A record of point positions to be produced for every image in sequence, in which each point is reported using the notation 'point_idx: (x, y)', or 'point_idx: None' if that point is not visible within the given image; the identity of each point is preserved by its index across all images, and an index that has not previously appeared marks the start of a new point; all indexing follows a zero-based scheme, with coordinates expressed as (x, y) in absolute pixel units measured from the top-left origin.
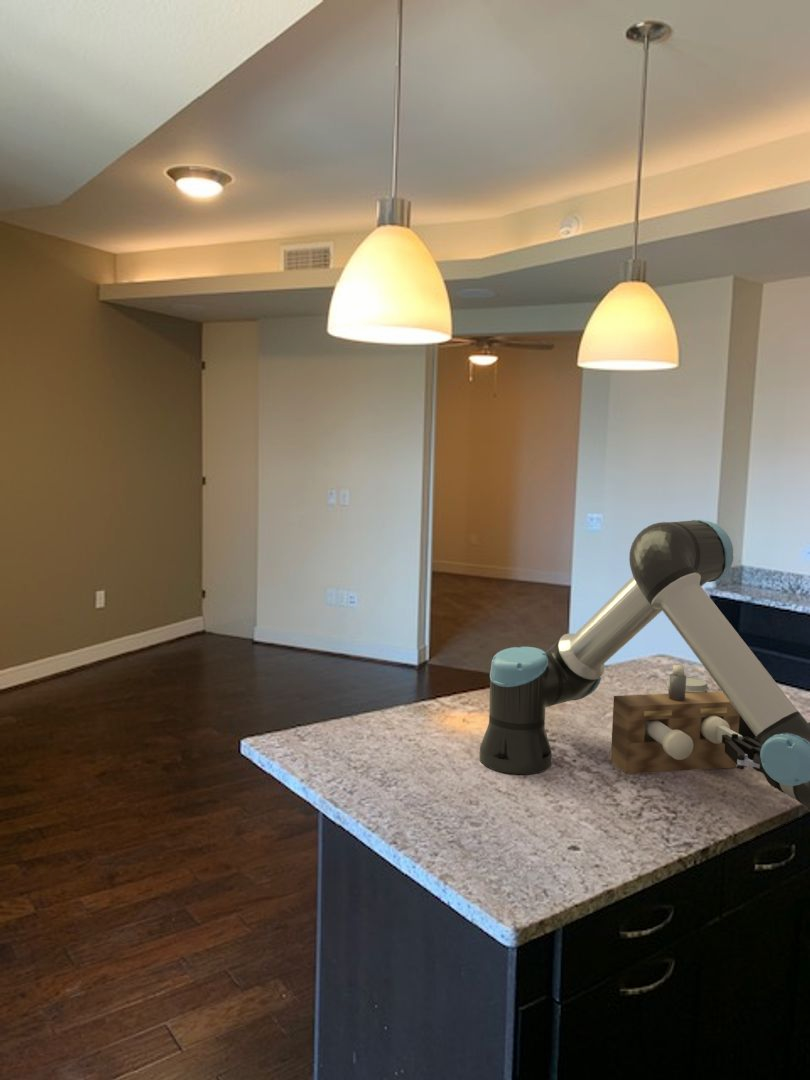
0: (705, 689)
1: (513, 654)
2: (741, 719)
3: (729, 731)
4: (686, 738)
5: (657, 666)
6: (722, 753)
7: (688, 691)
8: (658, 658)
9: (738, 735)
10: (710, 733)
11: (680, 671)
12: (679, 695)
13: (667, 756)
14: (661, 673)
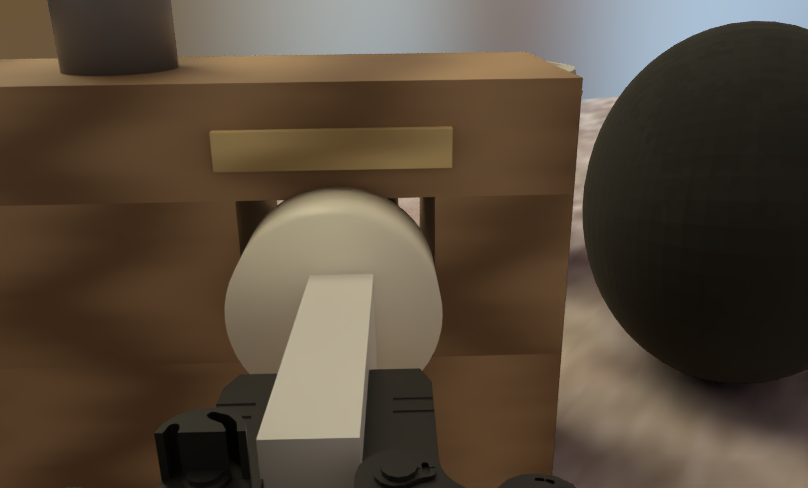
0: None
1: None
2: (655, 227)
3: (313, 345)
4: None
5: (596, 109)
6: (441, 452)
7: None
8: (614, 98)
9: (319, 422)
10: (259, 333)
11: None
12: (77, 29)
13: (18, 465)
14: (591, 120)
